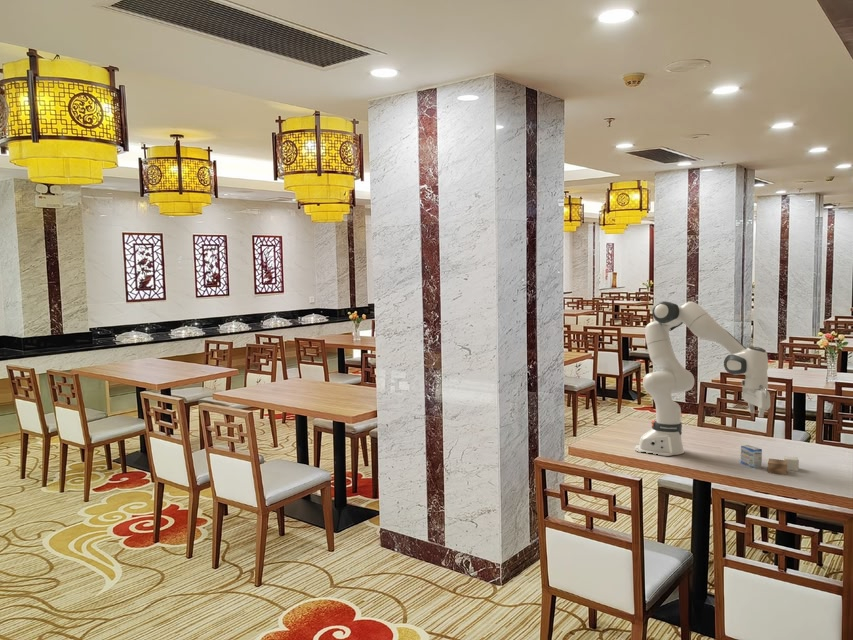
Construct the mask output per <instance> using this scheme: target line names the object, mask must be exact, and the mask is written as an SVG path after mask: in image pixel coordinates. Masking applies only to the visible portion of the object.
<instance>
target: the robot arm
mask: <svg viewBox="0 0 853 640" xmlns="http://www.w3.org/2000/svg"><path fill="white" fill-rule="evenodd" d="M651 313H652V318H654V320H653V321H651V322H648V323H647V325H645V326H644V327H645V328H644V334H645V342H646V347H647V351H648V356H649V360H650V361H651V362H652V363H653V364H654V365H656V366H658V367H659V368H660V369H661V370H657V371H652V372H649V373H646V374H644V376H643V379H642V386H643V387H642V388H643V389H644V391H645V392H646V393H648V394H649V396H651V398H652V399H653V401H654V404H655V405H654V406H655V416H656V417H655V419H656V420H654V419H653V420H652V421H651V428H650V429H649V430H648V431H646V432H645V433H644V434H642V435H641V437H640V440H639V443H637V444H636V445H635V446H634V451H635V450H637V451H640V452H639V453H641V452H646V453H645V454H648V453H653V454H652V455H656V454H658V456H665V457H670V456H676V455H677V456H678V455H682V454H684V453H685V449H684V445H683V439H682V434H683V423H682V417H681V416H682V409H681V405H679V403H678V402H677V401H674V400H673V397H672V394H679V393H684V392H685V393H686V392H688V391H691V390H692V389H693V387H695V386H694V385H695V377H694V375H693V373H692V372H691V371H689V370H687V369H686V368H685V367H684V366H683V365H682V364H681V363H680V362H679V360H678V359H677V357H676V355H675V352H674V349H673V345H672V341H671V339H670V338H671V337H670V333H669V331H670V332H671V331H673V330H675V329H676V328H679V327H680V326H682V325H683V324H685V326H686V327H687V328H688V329H689V331H690V332H691V333H692V334H693V335H695V336H696V337H697V338H698V339H700V340H704V341H710V342H714V343H716V344H719V345H721V346H722V347H723V348H725V349H726V351H727V352H728V353H730V354H728V355H727V356H726V357H725V358H724V360H723V367H724V370H725V371H726V372H727V373H728V374H730V375H733V376H738V375H744V376H745V379H742V380H741V386H742V399H743V401H744V402H746V403H747V405H748V408H749V409H748V411H749V413H750V414H755V412H756V411H755V407H758V413H757V417H758V418H764V417H765V416H764V414H765V411H766V410H769V409H770V408H771V393H770V392H769V390H768V389H769V383H768V382H769V376H768V369H769V357H768V352H767V351H766V349H764V348H762V347H759V346H748V347H745V346H744V345H743V343H741V342H740V341H739V340H738V339H736V338H735V337H734V336H733V334H731V333H730V332H729V331H728V330H726V329H725V328H724V327H723V326H721V324H719V323H718V322H717V321H716V320H715V319H714V318H713V317H712V316H711V315H710V314H709V313H708V311H706V310H705V309H704V308H703V307H702V306H701V305H699V304H698V303H697V302H694V301H687V302H684V303H683V304H682V305H678V304H677V303H674V302H673V303H672V302H670V301H659V302H656V304H654V306H653V307H652V311H651ZM754 406H755V407H754ZM637 451H636V452H637Z"/></svg>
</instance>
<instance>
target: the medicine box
mask: <svg viewBox="0 0 853 640" xmlns="http://www.w3.org/2000/svg"><path fill="white" fill-rule="evenodd" d="M762 458H763V450H762V448H759V447H755V446H752V445H749V444H743V445H741V446H740V464H741V465H744V466H747V467H750V468H752V469H757V468H762V464H763V462H762V461H763V460H762Z"/></svg>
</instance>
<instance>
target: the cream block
mask: <svg viewBox="0 0 853 640" xmlns="http://www.w3.org/2000/svg"><path fill="white" fill-rule="evenodd" d="M798 458H799V457H796V456H787V455H785V456H783V460H787V471H795V472H799V463H800V462H799V461H800V460H799V459H798Z"/></svg>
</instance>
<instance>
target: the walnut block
mask: <svg viewBox="0 0 853 640" xmlns="http://www.w3.org/2000/svg"><path fill="white" fill-rule="evenodd" d="M767 461H768V462H767V474H773V473H774V474H775V475H783V476H787V473H788V470H787V460H784V459H778V458H777V459H775V458H768V460H767Z"/></svg>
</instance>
